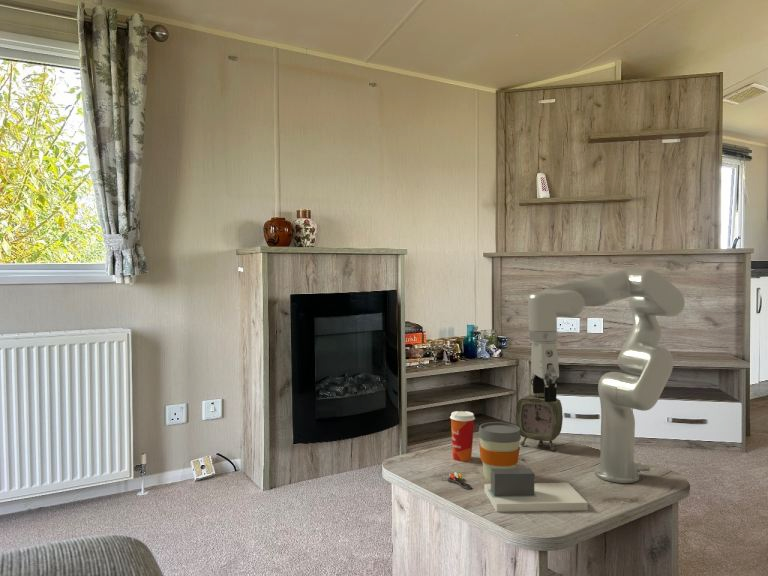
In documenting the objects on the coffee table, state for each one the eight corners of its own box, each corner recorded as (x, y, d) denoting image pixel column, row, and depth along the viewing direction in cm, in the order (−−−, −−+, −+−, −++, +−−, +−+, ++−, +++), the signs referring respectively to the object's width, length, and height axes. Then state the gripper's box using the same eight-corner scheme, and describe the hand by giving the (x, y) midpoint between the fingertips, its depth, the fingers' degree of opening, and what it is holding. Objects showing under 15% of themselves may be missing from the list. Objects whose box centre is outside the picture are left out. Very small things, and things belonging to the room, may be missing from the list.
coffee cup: (448, 454, 197) (449, 410, 196) (473, 454, 197) (473, 410, 196) (450, 462, 189) (451, 416, 188) (476, 463, 188) (476, 417, 188)
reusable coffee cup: (506, 467, 184) (507, 420, 183) (528, 481, 172) (529, 431, 172) (470, 471, 180) (471, 423, 179) (490, 486, 168) (491, 435, 168)
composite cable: (473, 490, 166) (473, 481, 166) (457, 492, 165) (457, 483, 165) (459, 478, 176) (459, 470, 175) (444, 479, 174) (444, 471, 174)
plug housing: (529, 489, 160) (529, 468, 160) (534, 495, 156) (534, 473, 156) (490, 490, 160) (490, 468, 160) (494, 496, 156) (494, 474, 155)
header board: (567, 489, 166) (567, 472, 166) (587, 510, 152) (587, 491, 152) (484, 490, 165) (484, 473, 165) (496, 511, 151) (496, 492, 151)
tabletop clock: (515, 446, 206) (516, 376, 205) (523, 440, 214) (524, 372, 213) (556, 453, 199) (558, 380, 198) (563, 446, 206) (564, 376, 206)
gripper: (567, 340, 154) (569, 404, 155) (545, 331, 171) (547, 389, 172) (539, 341, 153) (541, 405, 154) (520, 333, 171) (522, 390, 172)
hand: (544, 397), depth 163 cm, fingers open, 9 cm apart
